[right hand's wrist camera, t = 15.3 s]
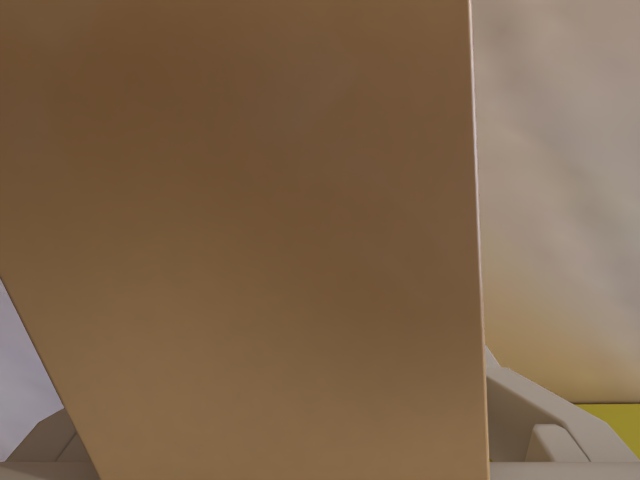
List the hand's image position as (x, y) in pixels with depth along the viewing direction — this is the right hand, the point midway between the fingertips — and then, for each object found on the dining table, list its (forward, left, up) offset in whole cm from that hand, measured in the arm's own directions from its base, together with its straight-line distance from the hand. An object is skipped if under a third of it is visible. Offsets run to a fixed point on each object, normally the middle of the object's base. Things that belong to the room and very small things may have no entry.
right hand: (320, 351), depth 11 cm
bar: (+3, +10, -4) cm, 11 cm away
